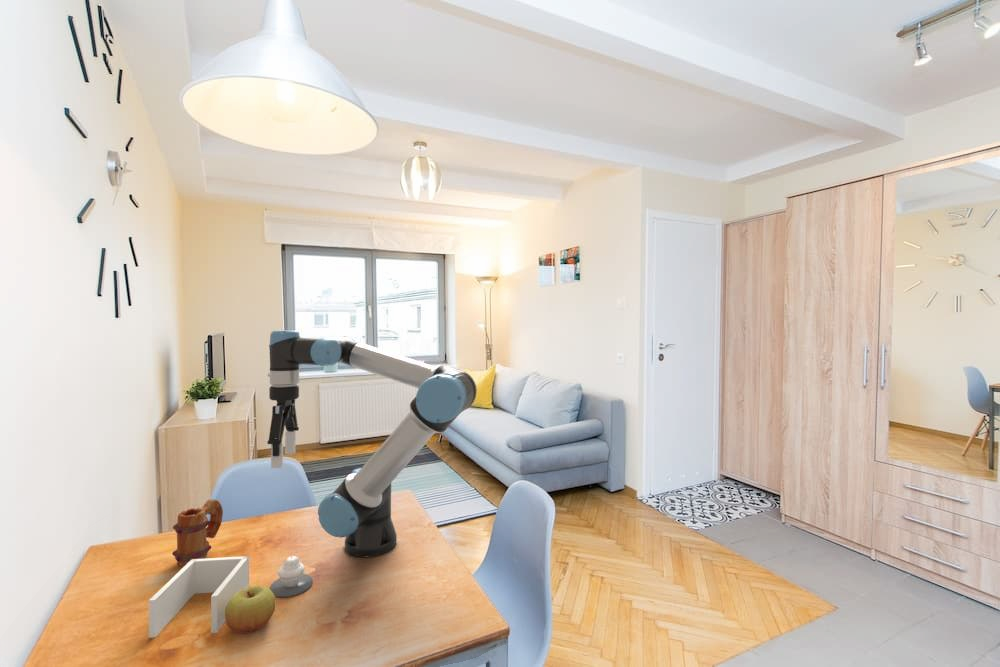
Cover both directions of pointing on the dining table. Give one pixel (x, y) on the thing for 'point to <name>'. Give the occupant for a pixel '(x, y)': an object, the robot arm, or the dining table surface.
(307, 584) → the coaster
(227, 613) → the apple
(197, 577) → the cubby
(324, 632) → the dining table surface
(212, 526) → the mug
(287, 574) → the white rounded ribbed piece
